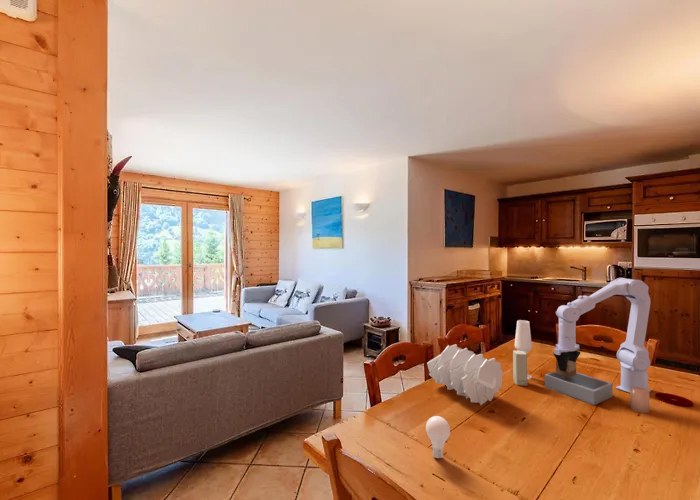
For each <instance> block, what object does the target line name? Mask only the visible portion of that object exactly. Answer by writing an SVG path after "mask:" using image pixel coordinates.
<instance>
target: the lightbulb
mask: <svg viewBox="0 0 700 500" xmlns="http://www.w3.org/2000/svg"><path fill="white" fill-rule="evenodd" d="M425 424H426V425H425V432H426V433H427V437H428V438H429V439H430V442H431V446H432V456H433V457H434V458H436V459H442V458H443V457H444V446H445V443H446V442H447V440H448V439H449V437H450V434H451V428H450V424H449V422H448V421H447V420H446V418H444V417H443V416H440V415H433V416H432V417H429V418H428V419H427V421H426V423H425Z"/></svg>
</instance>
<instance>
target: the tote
mask: <svg viewBox="0 0 700 500" xmlns="http://www.w3.org/2000/svg"><path fill="white" fill-rule="evenodd" d="M544 387H545V388H546V389H549V390H552V391H555V392H558V393H560V394H563V395H565V396H568V397H570V398H573V399H576V400H579V401H581V402H584V403H587V404H589V405H591V406H595V405H598V404H600V403H602V402H605V401H606V400H608V399H611V398H613V393H614V392H613V389H614V388H613V387H614V386H613V383H612V382H608V381H605V380H603V379H598V378H595V377H593V376H590V375H587V374H583V373H580V372H577V371H576V375H575V376H572V377H566V376H563V375H560V374H557V373H556V370H555V371H552V372H547V373H545V374H544Z"/></svg>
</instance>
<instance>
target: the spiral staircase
mask: <svg viewBox="0 0 700 500" xmlns="http://www.w3.org/2000/svg"><path fill="white" fill-rule="evenodd" d="M426 365H427V369H428V372H429V373H428V375H429V376H430V377H431V378H432V379H433V380H434V381H435V382H434V383H435V384H441V385H442V384H443V386H444V385H446V386H445V387H447V388H446V389H447V390H449V391H450V390H454V391H456V395H458V396H464V397H465V399H466V400H467V399H468V398H469V399H470V403H479V405H480V406H483V405H484V404H485V403H486V402H487V401H489V402H492V400H493V398H494V396H495V393H499V390H500V388H502V386H503V381H502V377H503V376H504V371H503V370H502V368H501V366H502V363H500V361H497V360H496V358H495V357H493V358H489V359H487V358H485V357H484V355H483V353H479V354H476V353H474V351H472V350H468V348H467V347H465V348H461V347H458V344H456V343H455V344H452V345H449V344H447V346H446V347H445V349H444V350H443V351H442V352H440V354H439V355H437V356H435V357H434V358H432V359H430V360H429V361H428V362H426Z"/></svg>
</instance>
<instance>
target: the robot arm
mask: <svg viewBox="0 0 700 500" xmlns="http://www.w3.org/2000/svg"><path fill="white" fill-rule="evenodd" d="M649 288H650V287H649V286H648V285H647V284H646V283H645V282H644V281H642V280H641V279H632V278H625V277H618V278H616V279H614V280H611V281H610V282H609V283H608V284H607V285H605V286H603V287H602V288H600V289H599V290H597V291H595V292H593V293H592V294H591V295H579V296H577V299H575V300H572V301H571V302H570V301H569V302H567V304H566V305H565V304H562V305H560V306H558V308H557V309H556V311H555V315H556V316H557V318H558V343H556V344H555V348H554V349H553V353H552V354H553V356H554V358H555V361H557V362H558V366H559V369H560V371H564V372H566V370H567V363H568V360H569V361H572V362H576V363H577V360H578V358H579V356H581V351H580V344H577V343H576V342H577V341H576V338H577V337H576V336H577V335H576V330H577V329H576V328H577V327H576V325H577V323H576V322H577V321H579V319H580V316H581V315H584V314H585V313H587V312H589V311H592V310H593V309H595V308H596V304H598V303H600V302H602V301H604V300H606V299H608V298H610V297H613V296H614V295H620V296H624V297H625V298H626V299H627V300H628V301H630V304H631V305H630V311H629V318H628V324H627V331H626V336H625V337H626V338H625V341H624V342H622V343H621V344H620V347H619V349H618V350H617V352H616V358H617V360H618V361H619V362H620V363H619V364H620V385H618V386H616V387H615V389H616V390H620V391H623V392H626V393H630V387H632V386H636V387H641V388H645V389H647V390H649V393H650V392H651V391H652V389H649V373H648V371H647V370H648V369H649V368H650V366H651V360H650V357H649V356H650V353H649V351H648V349H647V347H645V342H646V341H645V340H646V335H647V328H648V324H649V323H648V322H649V315H650V309H651V302H652V301H651V297H650V293H649V290H650V289H649ZM578 350H579V351H578Z"/></svg>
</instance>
